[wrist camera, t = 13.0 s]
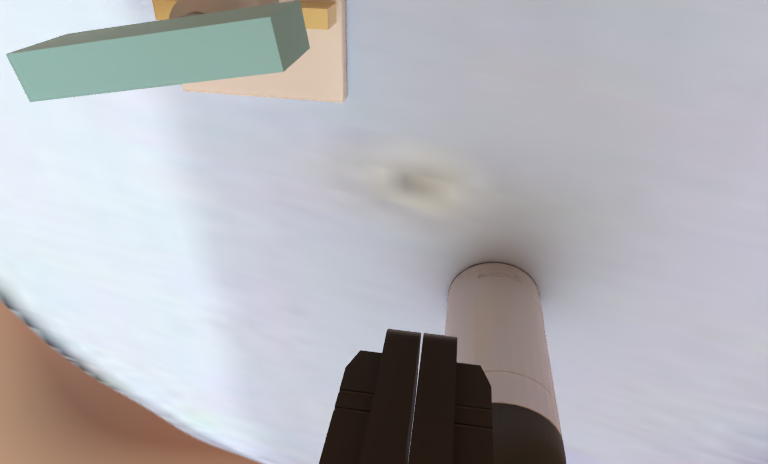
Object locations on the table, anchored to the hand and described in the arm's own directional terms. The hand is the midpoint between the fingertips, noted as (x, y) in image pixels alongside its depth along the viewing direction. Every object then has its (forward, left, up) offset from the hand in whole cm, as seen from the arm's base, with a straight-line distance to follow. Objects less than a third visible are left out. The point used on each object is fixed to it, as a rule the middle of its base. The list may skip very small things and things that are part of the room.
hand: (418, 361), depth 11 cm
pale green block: (+1, +16, -24) cm, 29 cm away
